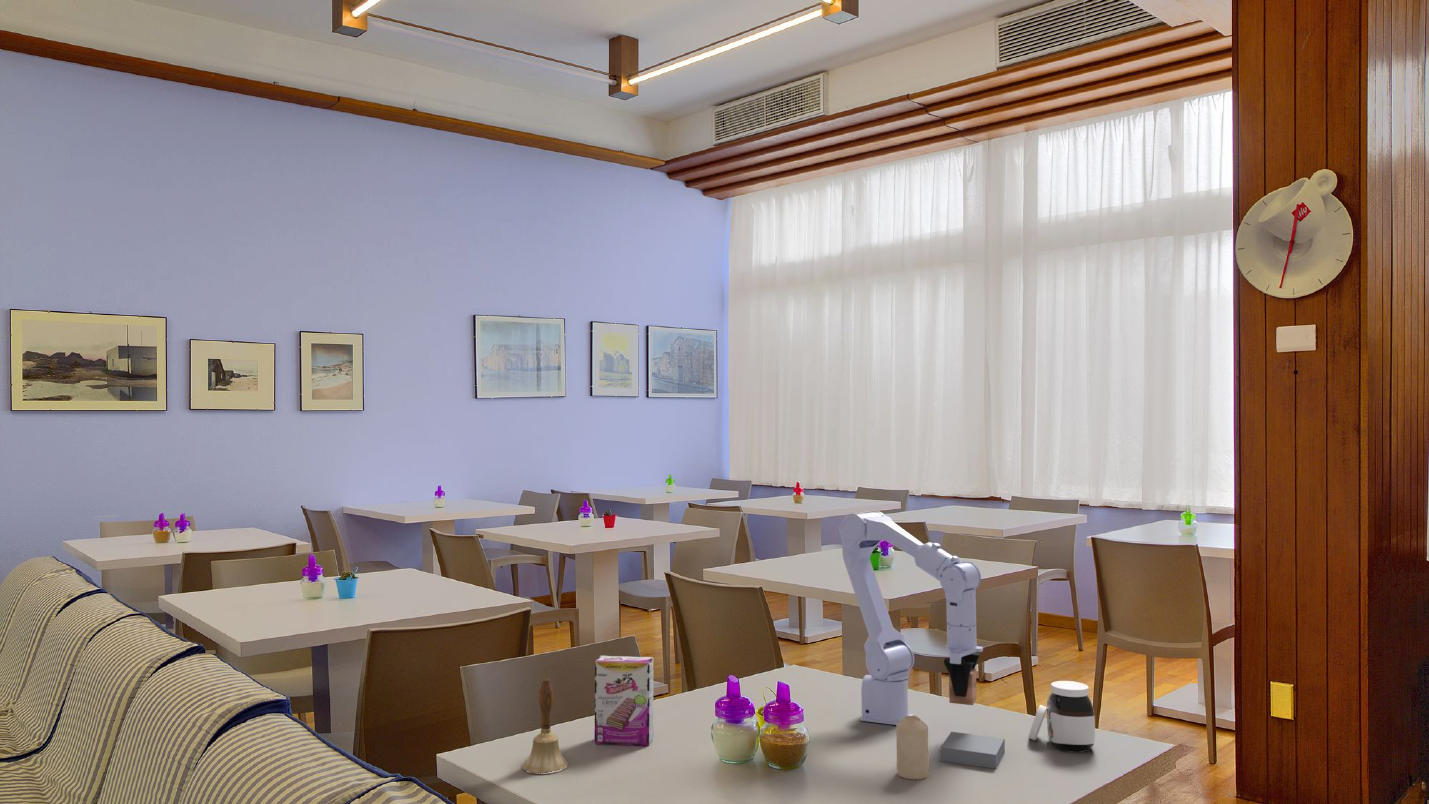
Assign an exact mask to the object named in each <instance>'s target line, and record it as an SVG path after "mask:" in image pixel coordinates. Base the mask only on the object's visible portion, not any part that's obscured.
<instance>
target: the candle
mask: <svg viewBox="0 0 1429 804" xmlns="http://www.w3.org/2000/svg"><path fill="white" fill-rule="evenodd" d="M895 727H896V729H895V730H896V731H895V732H896V733H895V734H896V735H895V737H896V773H897V775H898V776H899V777H901V778H903V779H907V780H915V779H917V780H923V779H926V778H928V777H929V727H928V725H927V724H926V723H925V722H924V721H923V720H922V719H921V718H919V717H918V716H917V715H914V716H906V717H905V718H902V719H901V720H900V721H899V722H898V723H897V725H895ZM927 776H928V777H927Z"/></svg>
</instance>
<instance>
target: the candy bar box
mask: <svg viewBox="0 0 1429 804" xmlns="http://www.w3.org/2000/svg"><path fill="white" fill-rule="evenodd" d="M654 663H655V662H654V657H652V656H626V655H625V656H623V655H599V656H598V658H597V659H596V660H595V662H594V744H595V745H612V744H622V745H621V746H645V747H646V746H650V744H651V742H652V741H653V739H654V672H655V671H654Z"/></svg>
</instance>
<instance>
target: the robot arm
mask: <svg viewBox="0 0 1429 804" xmlns="http://www.w3.org/2000/svg"><path fill="white" fill-rule="evenodd" d="M838 533H839V536H840V539H841V542H842V546H841V547H842V558H843V562H844V565H845V568H846V571H847V574H848V576H849V580H850V583H851V587H852V589H853V593H854V595H855V598H856V601H857V604H858V607H859V610H860V612H861V615H862V619H863V622H864V625H865V628H866V630H867V633H868V636H867V638H866V640H865V642H864V645H863V649H864V651H865V666H866V668H867V671H868V673H869V674H866V675H863V678H862V681H861V694H860V695H861V698H860V699H861V717H860V721H861V722H868V723H869V722H870V723H876V724H878V723H879V724H885V725H893V726H896V725H897V723H898V722H899V721H900V720H901V719H902V718H905V717H906V716H915V715H914V714H913V713H909V698H908V697H909V695H908V694H909V693H908V692H909V691H908V690H909V687H908V683H909V682H908V677H909V675H910V674H909V673H910V670H911V669H912V668H913V666H914V664H915V654H914V651H913V648H911V647H910V645H909V644H908V643H907V641H906V639H905V636H904V635H903V634H902V633H901V632H899V631H898V630H897V629H896V628H894V626H893V623H892V620H891V617H890V614H889V612H888V608H887V605H886V602H885V599H884V597H883V596H884V595H883V594H882V590H881V587H880V586H879V582H878V579H877V576H876V574H875V570H874V567H873V565H872V561H871V559H870V558H871V556H872V555H873V554H872V553H873V551H874V550H875V548H876V547H877V546H878V545H879V544H880V543H881V542H882V541H885V542H887V543H888V544H890V545H892V546H894V547H895V548H898V549H899V550H901V551H903V552H904V553H906V554H907V555H909V556H910V557H913V558H914V563H915V566H916V567H918V568H919V569H921V570H922V571H924V572H925V573H927V574H928V575H930V576H931V577H933V578H934V579H936V580H937V581H939V584H940V586H941V588H942V589H943V590H944V594H945V595H944V598H945V599H946V605H945V606H946V645H945V650H946V651H947V652H948V654H949V657H945V658H944V659H943V664H944V666H945V668H946V669H947V672H948V676H949V675H950V678H951V682H952V686H953V691H954V694H955V696H961V697H966V694H967V690H968V681H969V675H970V672H971V669H976V665H977V664H978V660H979V659H980V656H981V653H982V652H983V651H984V647H983V646H978V645H977V644H978V642H977V639H978V638H977V599H976V598H977V594H976V593H977V591H976V589H977V588H978V587H979V586H980V584H981V582H982V581H981V580H982V575H981V572H980V570H979V568H978V567H977V566H976V565H975V564H974V562H972V561H967V560H966V561H960V557H959V556H957V555H952V554H950V553H948V552H947V551H945V550H944V549H942V548H941V547H942V545H941V544H940V543H938V542H926V543H922V541H920V540H919V539H917V538H916V537H915V536H913V535H912V534H910V533H909V532H908V531H906V530H905V529H903V528H902V527H901V526H900V525H898V524H897V523H895V522H894V520H892V517H890V516H887V515H885V514H884V513H883V512H881V511H878V510H873V511H870V512H862V513H860V512H859V513H853V512H852V513H849V514H846V515H845V516H844V518H843V519H842V521H841V523H840V525H839V527H838Z"/></svg>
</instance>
